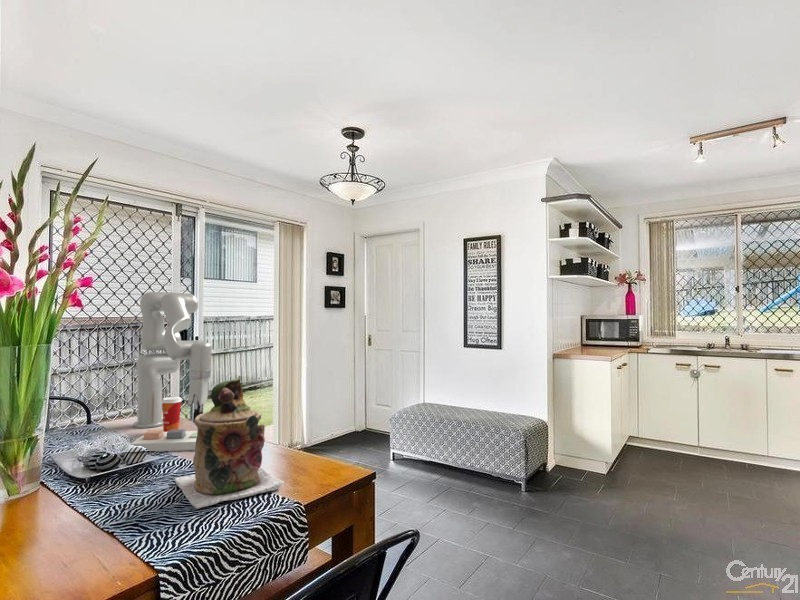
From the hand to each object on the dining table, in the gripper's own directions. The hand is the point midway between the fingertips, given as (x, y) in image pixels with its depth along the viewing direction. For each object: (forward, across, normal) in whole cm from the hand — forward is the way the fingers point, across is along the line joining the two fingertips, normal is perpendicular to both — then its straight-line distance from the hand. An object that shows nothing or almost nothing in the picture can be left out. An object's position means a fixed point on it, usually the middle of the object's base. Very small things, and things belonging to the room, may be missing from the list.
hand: (197, 421), depth 173 cm
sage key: (+7, +1, +1) cm, 7 cm away
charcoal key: (+6, +1, -7) cm, 9 cm away
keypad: (+8, +1, -7) cm, 11 cm away
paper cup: (+9, -19, -15) cm, 26 cm away
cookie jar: (+7, +46, +21) cm, 51 cm away
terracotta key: (+6, +1, -15) cm, 16 cm away
